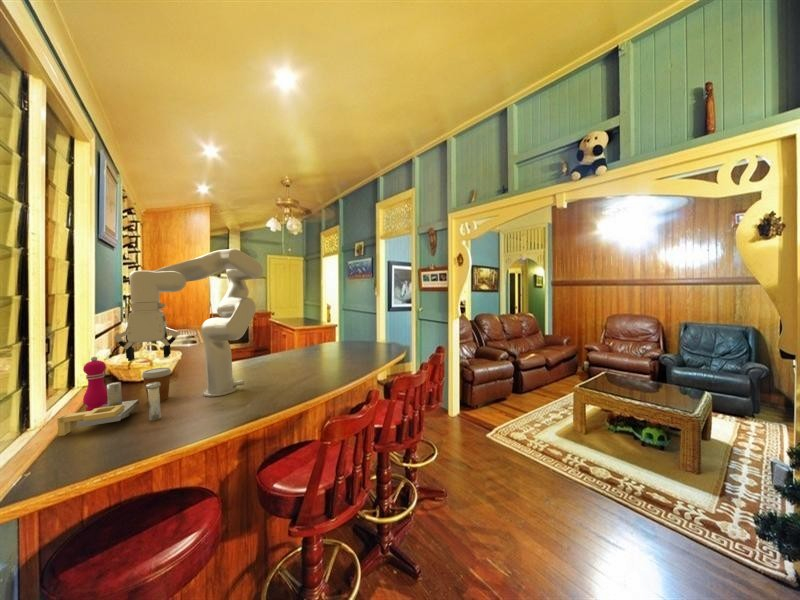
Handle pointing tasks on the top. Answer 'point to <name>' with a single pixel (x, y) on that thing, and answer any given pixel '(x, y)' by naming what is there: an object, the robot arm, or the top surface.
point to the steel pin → (154, 401)
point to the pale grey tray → (113, 400)
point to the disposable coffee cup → (158, 380)
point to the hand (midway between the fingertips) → (149, 358)
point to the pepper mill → (95, 384)
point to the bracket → (86, 417)
